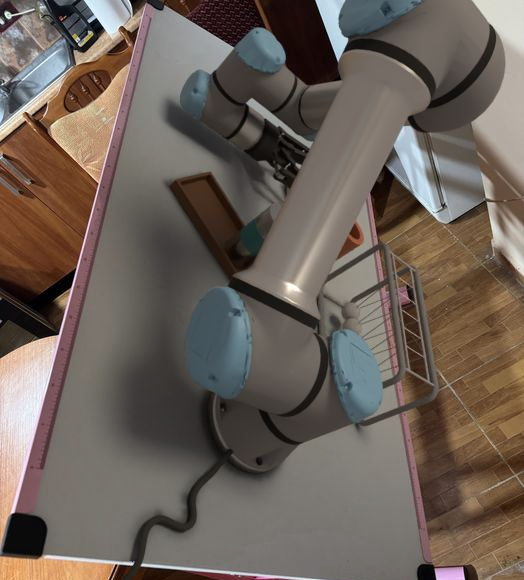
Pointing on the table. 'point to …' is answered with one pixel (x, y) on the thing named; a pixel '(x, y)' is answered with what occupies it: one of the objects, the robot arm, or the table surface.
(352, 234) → the jar
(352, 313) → the newton's cradle
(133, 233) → the table surface
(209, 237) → the can tray
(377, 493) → the table surface
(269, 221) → the tray can
